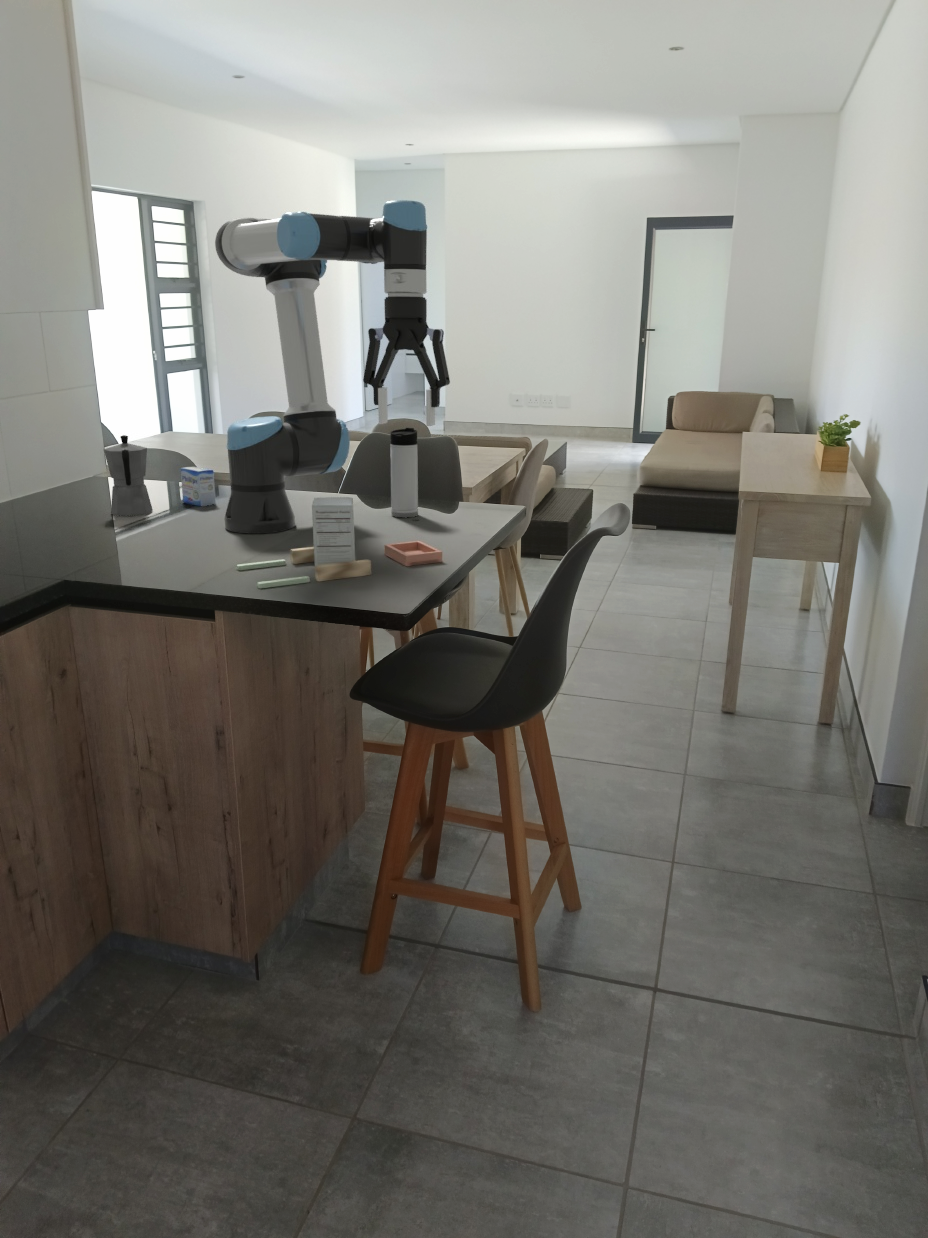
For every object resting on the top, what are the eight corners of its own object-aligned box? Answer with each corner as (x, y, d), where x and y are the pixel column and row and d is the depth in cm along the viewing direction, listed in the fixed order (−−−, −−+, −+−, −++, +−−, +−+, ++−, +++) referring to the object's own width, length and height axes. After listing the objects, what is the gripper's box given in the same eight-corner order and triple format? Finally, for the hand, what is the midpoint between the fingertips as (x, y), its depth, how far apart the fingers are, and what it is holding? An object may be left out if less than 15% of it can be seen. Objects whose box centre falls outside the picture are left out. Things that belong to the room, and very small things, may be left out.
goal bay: (259, 588, 157) (259, 583, 157) (236, 568, 169) (236, 564, 169) (309, 582, 162) (309, 577, 161) (283, 563, 174) (283, 559, 173)
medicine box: (182, 502, 229) (179, 467, 226) (197, 500, 232) (195, 465, 230) (201, 506, 224) (198, 471, 221) (216, 504, 227) (213, 469, 225)
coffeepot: (111, 508, 221) (102, 432, 215) (152, 506, 224) (145, 431, 218) (110, 521, 207) (101, 440, 202) (154, 519, 210) (146, 439, 205)
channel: (318, 581, 162) (318, 567, 161) (291, 562, 174) (290, 549, 174) (371, 574, 167) (370, 561, 166) (340, 556, 179) (340, 543, 178)
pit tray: (406, 566, 172) (406, 555, 172) (384, 554, 181) (384, 544, 180) (442, 561, 176) (442, 551, 175) (419, 550, 184) (419, 540, 184)
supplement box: (316, 563, 174) (313, 496, 170) (355, 562, 175) (354, 496, 171) (313, 573, 167) (310, 504, 163) (354, 572, 168) (352, 504, 164)
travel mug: (423, 513, 218) (422, 428, 212) (410, 519, 213) (409, 431, 206) (400, 511, 221) (399, 426, 215) (386, 516, 215) (385, 429, 209)
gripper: (341, 294, 164) (345, 423, 171) (456, 295, 158) (455, 428, 165) (357, 295, 171) (361, 419, 178) (468, 296, 165) (467, 424, 172)
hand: (406, 424), depth 171 cm, fingers open, 9 cm apart
